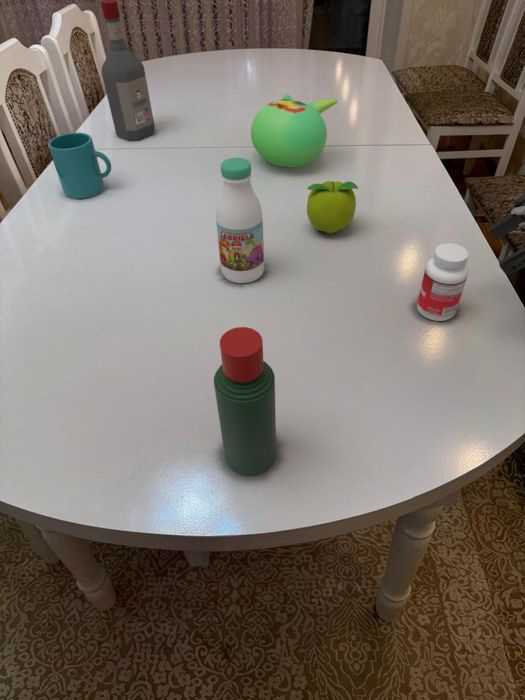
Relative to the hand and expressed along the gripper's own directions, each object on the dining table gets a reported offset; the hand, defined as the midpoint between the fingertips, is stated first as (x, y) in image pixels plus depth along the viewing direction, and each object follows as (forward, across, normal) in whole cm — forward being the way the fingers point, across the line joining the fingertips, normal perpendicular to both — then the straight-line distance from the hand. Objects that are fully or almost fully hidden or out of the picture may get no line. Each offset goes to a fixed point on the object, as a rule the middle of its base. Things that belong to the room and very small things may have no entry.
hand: (496, 251), depth 71 cm
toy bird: (+33, -52, -16) cm, 64 cm away
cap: (+19, +30, -25) cm, 44 cm away
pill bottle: (+12, 0, +4) cm, 13 cm away
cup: (+64, -34, -47) cm, 86 cm away
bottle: (+30, +30, -14) cm, 45 cm away
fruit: (+25, -23, -9) cm, 35 cm away
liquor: (+64, -67, -47) cm, 104 cm away
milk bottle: (+36, -7, -19) cm, 41 cm away
